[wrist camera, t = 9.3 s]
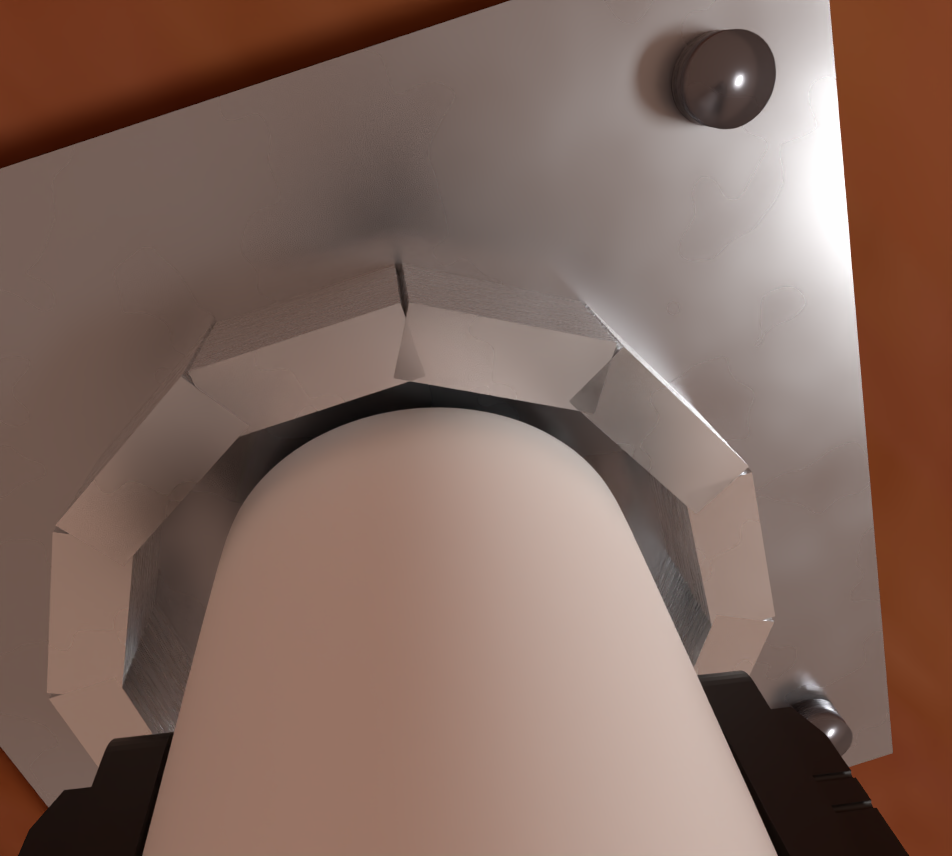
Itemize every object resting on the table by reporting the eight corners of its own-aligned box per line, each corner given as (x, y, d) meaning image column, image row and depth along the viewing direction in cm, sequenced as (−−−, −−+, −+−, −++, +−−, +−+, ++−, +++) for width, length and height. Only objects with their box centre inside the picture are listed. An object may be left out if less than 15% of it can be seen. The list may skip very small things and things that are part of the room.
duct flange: (866, 718, 18) (954, 834, 15) (192, 932, 18) (162, 1085, 16) (783, -89, 11) (917, -137, 8) (-304, 269, 11) (-514, 336, 9)
